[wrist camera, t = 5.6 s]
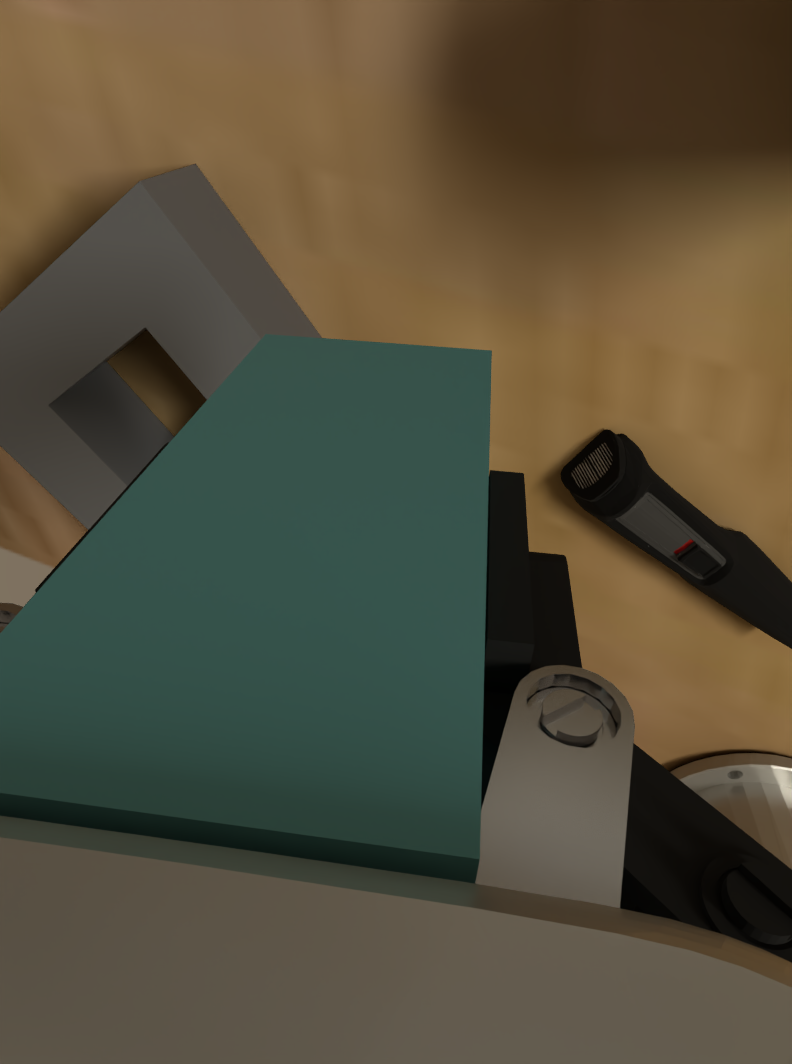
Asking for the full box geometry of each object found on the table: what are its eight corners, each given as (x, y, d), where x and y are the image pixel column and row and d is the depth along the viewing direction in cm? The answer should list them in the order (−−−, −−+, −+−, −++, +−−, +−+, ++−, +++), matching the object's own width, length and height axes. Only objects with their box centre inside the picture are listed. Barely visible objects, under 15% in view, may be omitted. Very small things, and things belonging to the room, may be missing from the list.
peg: (491, 350, 13) (479, 859, 4) (469, 539, 15) (436, 1085, 7) (265, 334, 13) (-127, 775, 5) (280, 520, 16) (40, 1017, 7)
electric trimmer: (761, 632, 36) (782, 676, 34) (553, 473, 32) (559, 509, 30) (825, 593, 34) (852, 636, 32) (612, 418, 30) (624, 451, 28)
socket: (195, 163, 26) (139, 181, 22) (384, 424, 31) (367, 476, 27) (3, 338, 31) (-71, 378, 27) (193, 535, 37) (155, 593, 33)
